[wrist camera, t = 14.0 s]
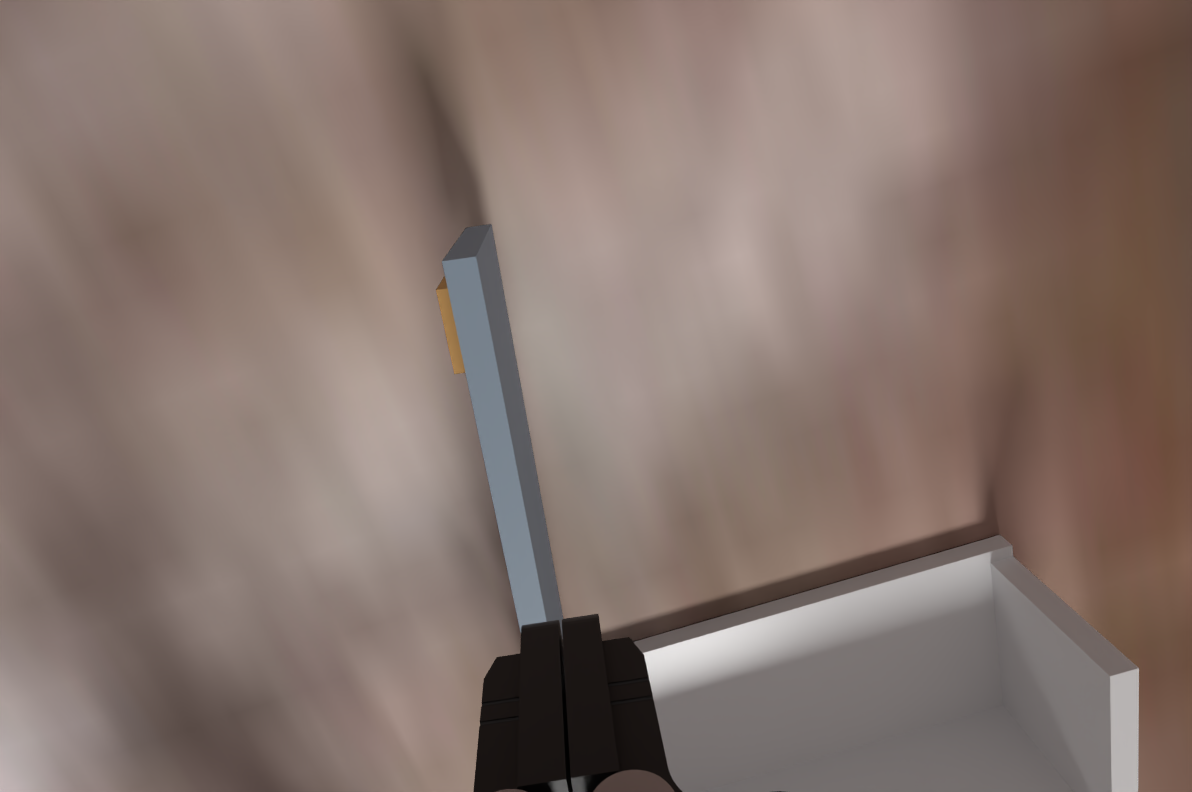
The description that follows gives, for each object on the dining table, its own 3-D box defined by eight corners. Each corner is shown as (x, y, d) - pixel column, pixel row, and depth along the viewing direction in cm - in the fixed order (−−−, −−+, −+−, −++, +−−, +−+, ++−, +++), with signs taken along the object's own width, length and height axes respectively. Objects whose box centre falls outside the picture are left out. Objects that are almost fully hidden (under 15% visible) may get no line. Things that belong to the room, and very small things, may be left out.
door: (491, 223, 27) (475, 256, 20) (573, 673, 36) (582, 807, 29) (445, 230, 27) (414, 265, 20) (538, 679, 36) (539, 815, 29)
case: (1013, 701, 41) (1137, 848, 32) (590, 822, 42) (604, 997, 33) (1000, 534, 36) (1138, 655, 28) (527, 672, 37) (525, 830, 29)
